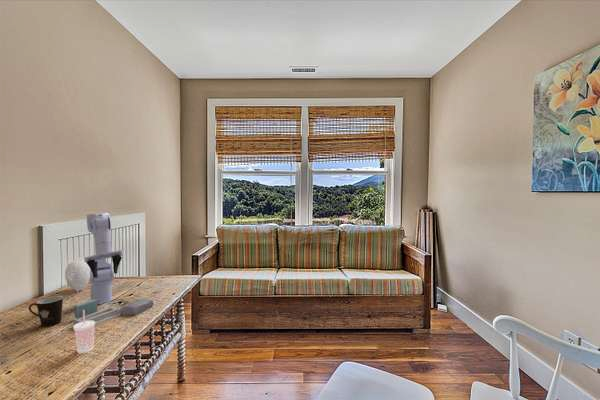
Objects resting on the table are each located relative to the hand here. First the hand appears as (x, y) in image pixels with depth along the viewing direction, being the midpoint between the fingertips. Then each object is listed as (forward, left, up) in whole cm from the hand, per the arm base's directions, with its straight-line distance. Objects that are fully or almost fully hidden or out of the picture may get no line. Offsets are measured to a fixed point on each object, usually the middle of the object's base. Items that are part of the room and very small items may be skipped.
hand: (105, 275), depth 132 cm
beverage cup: (+20, -19, -19) cm, 33 cm away
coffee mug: (-17, -14, -19) cm, 29 cm away
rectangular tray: (-1, -3, -18) cm, 19 cm away
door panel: (-10, -3, -19) cm, 21 cm away
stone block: (+3, +11, -19) cm, 22 cm away
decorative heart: (-50, +14, -19) cm, 56 cm away
